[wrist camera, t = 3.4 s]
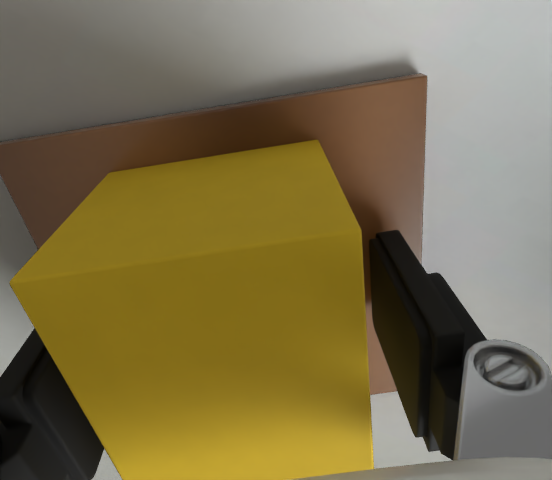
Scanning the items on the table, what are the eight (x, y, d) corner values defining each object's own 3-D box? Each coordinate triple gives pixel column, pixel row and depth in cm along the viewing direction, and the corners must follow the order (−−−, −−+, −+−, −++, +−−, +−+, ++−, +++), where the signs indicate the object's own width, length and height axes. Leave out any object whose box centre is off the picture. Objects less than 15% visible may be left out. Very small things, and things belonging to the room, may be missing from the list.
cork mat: (421, 72, 9) (428, 75, 9) (413, 379, 14) (417, 388, 14) (-5, 142, 10) (-15, 147, 9) (131, 418, 14) (128, 427, 14)
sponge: (318, 138, 9) (362, 228, 6) (341, 378, 13) (377, 531, 9) (108, 172, 10) (6, 282, 6) (192, 399, 14) (166, 557, 10)
